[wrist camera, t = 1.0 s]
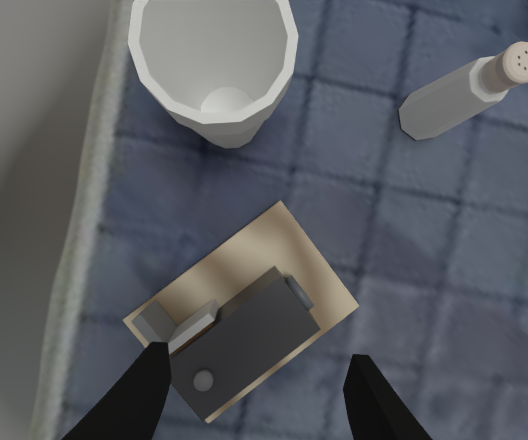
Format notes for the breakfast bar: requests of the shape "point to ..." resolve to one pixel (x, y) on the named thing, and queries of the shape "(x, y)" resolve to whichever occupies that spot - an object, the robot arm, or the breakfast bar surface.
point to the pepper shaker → (463, 93)
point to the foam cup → (215, 62)
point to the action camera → (242, 342)
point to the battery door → (172, 324)
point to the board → (251, 268)
